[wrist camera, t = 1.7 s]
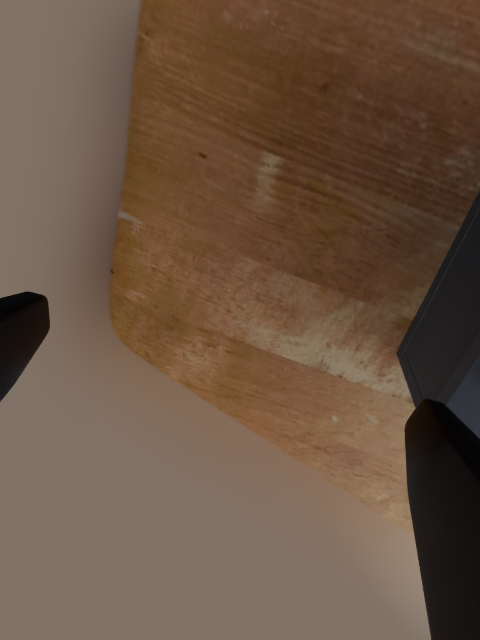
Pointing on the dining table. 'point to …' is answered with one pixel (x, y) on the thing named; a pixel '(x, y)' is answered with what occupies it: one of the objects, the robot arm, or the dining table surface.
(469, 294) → the box
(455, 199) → the dining table surface
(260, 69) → the dining table surface
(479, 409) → the lid
